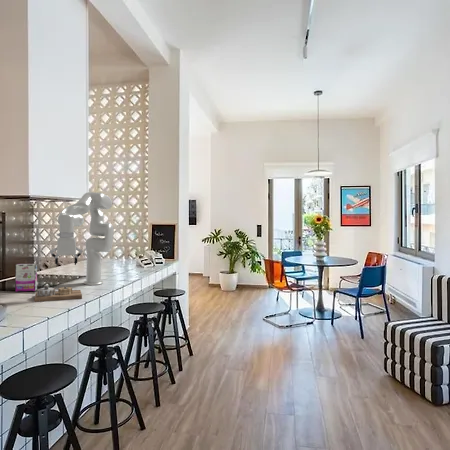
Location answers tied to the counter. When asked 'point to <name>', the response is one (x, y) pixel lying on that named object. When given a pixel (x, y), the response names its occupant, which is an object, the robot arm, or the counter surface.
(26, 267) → the candy bar box
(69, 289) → the wooden gear
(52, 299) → the gear board
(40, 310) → the counter surface
